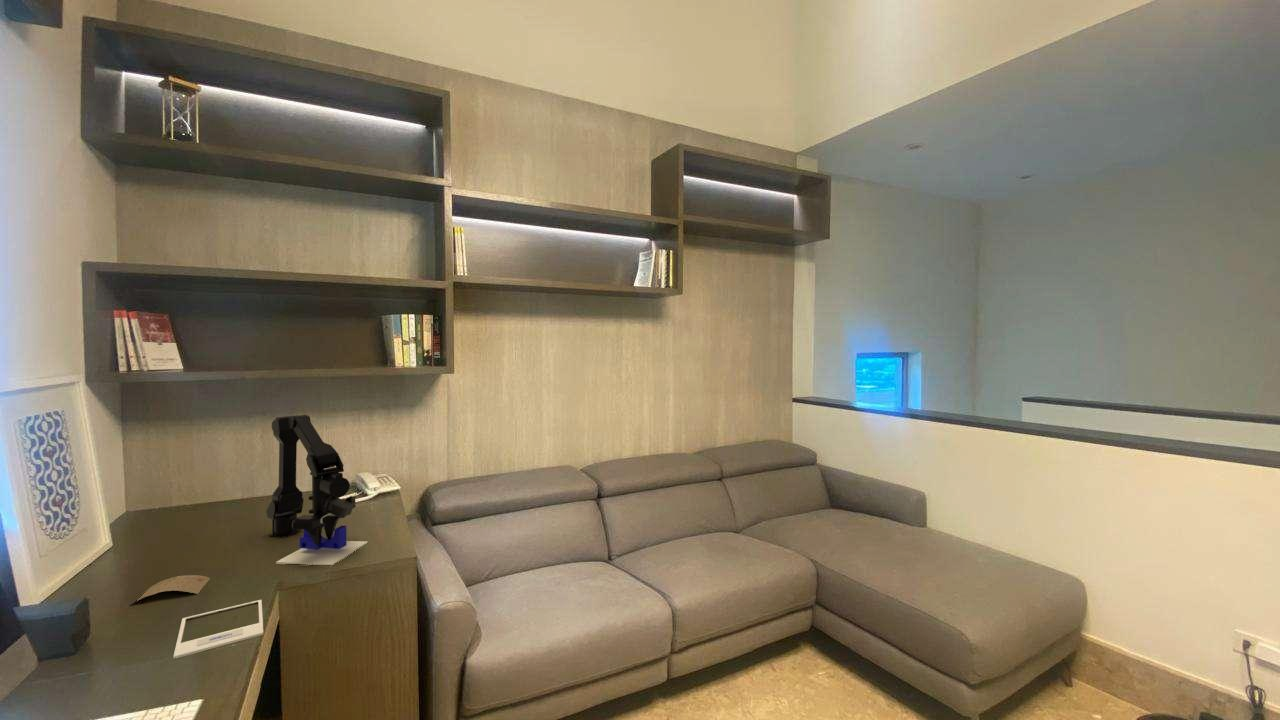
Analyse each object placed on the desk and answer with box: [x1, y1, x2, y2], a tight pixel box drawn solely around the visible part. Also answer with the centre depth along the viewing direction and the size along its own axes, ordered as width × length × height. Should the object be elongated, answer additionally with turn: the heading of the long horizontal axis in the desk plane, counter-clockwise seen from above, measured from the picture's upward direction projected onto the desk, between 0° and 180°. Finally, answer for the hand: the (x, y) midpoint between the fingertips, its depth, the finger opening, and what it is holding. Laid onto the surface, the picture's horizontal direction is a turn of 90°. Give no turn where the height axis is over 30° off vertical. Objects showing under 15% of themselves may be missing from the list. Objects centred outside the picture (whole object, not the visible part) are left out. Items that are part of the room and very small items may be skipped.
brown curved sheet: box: [133, 574, 211, 604], centre depth 131 cm, size 14×10×3 cm
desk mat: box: [275, 540, 369, 566], centre depth 156 cm, size 17×17×1 cm
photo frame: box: [173, 599, 264, 660], centre depth 115 cm, size 15×1×18 cm
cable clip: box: [299, 525, 348, 550], centre depth 156 cm, size 12×4×6 cm, turn 81°
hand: (323, 542), depth 156 cm, fingers closed on cable clip, 5 cm apart
